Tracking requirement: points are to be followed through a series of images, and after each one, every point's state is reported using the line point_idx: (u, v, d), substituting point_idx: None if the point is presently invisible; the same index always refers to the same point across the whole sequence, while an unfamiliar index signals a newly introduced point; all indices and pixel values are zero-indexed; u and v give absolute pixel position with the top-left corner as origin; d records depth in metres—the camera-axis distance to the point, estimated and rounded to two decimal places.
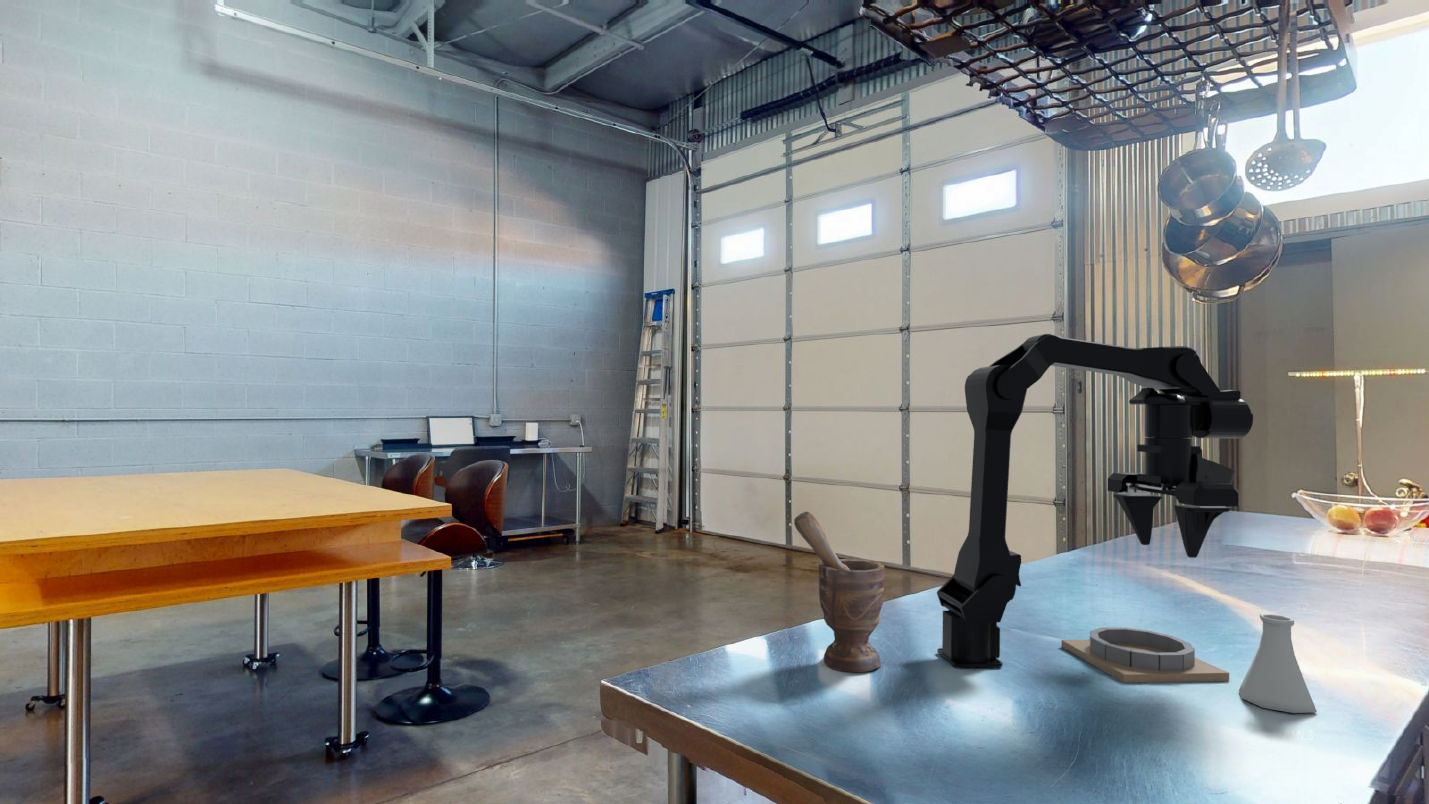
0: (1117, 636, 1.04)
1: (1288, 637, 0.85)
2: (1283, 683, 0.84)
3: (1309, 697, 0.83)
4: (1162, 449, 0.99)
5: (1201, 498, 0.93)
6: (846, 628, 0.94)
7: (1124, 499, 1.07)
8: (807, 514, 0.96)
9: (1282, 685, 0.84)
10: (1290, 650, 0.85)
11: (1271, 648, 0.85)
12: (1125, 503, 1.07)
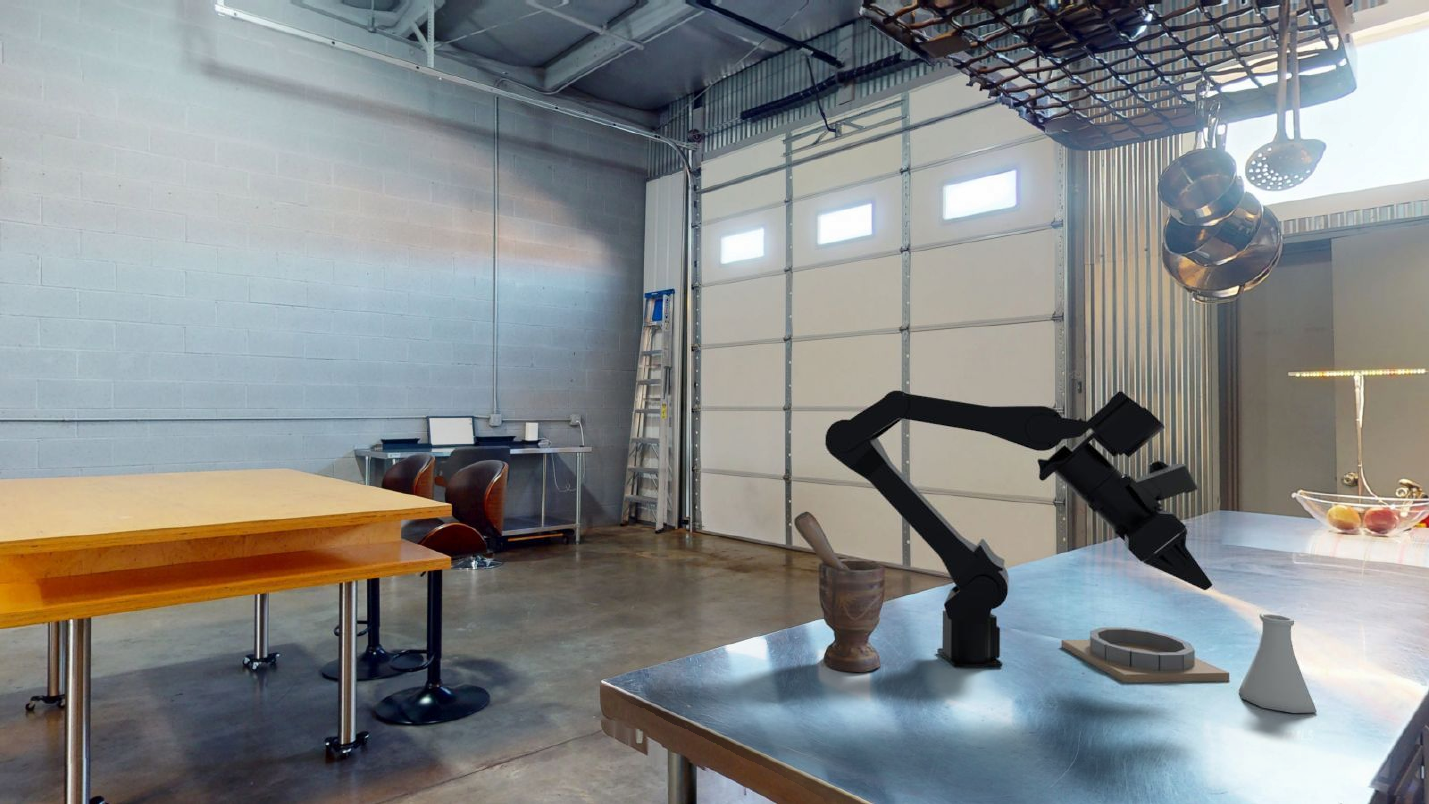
0: (1117, 636, 1.04)
1: (1288, 636, 0.85)
2: (1283, 683, 0.84)
3: (1309, 697, 0.83)
4: (1092, 508, 0.92)
5: (1139, 553, 0.83)
6: (846, 628, 0.94)
7: None
8: (807, 514, 0.96)
9: (1282, 685, 0.84)
10: (1290, 650, 0.85)
11: (1271, 648, 0.85)
12: None
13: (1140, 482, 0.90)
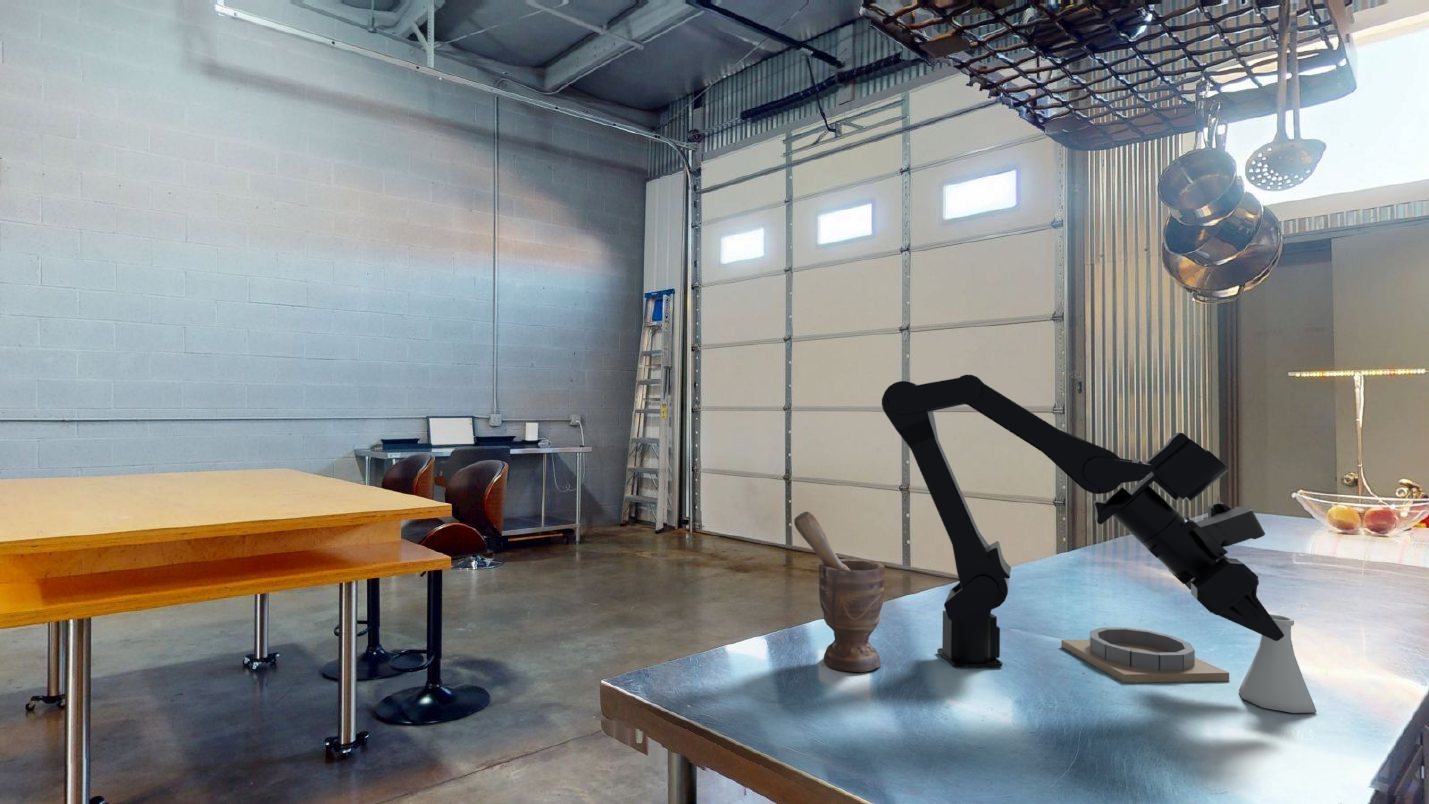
0: (1117, 636, 1.04)
1: (1288, 636, 0.85)
2: (1283, 683, 0.84)
3: (1309, 697, 0.83)
4: (1154, 553, 0.89)
5: (1209, 604, 0.81)
6: (846, 628, 0.94)
7: None
8: (807, 514, 0.96)
9: (1282, 685, 0.84)
10: (1290, 650, 0.85)
11: (1271, 648, 0.85)
12: None
13: (1204, 527, 0.87)
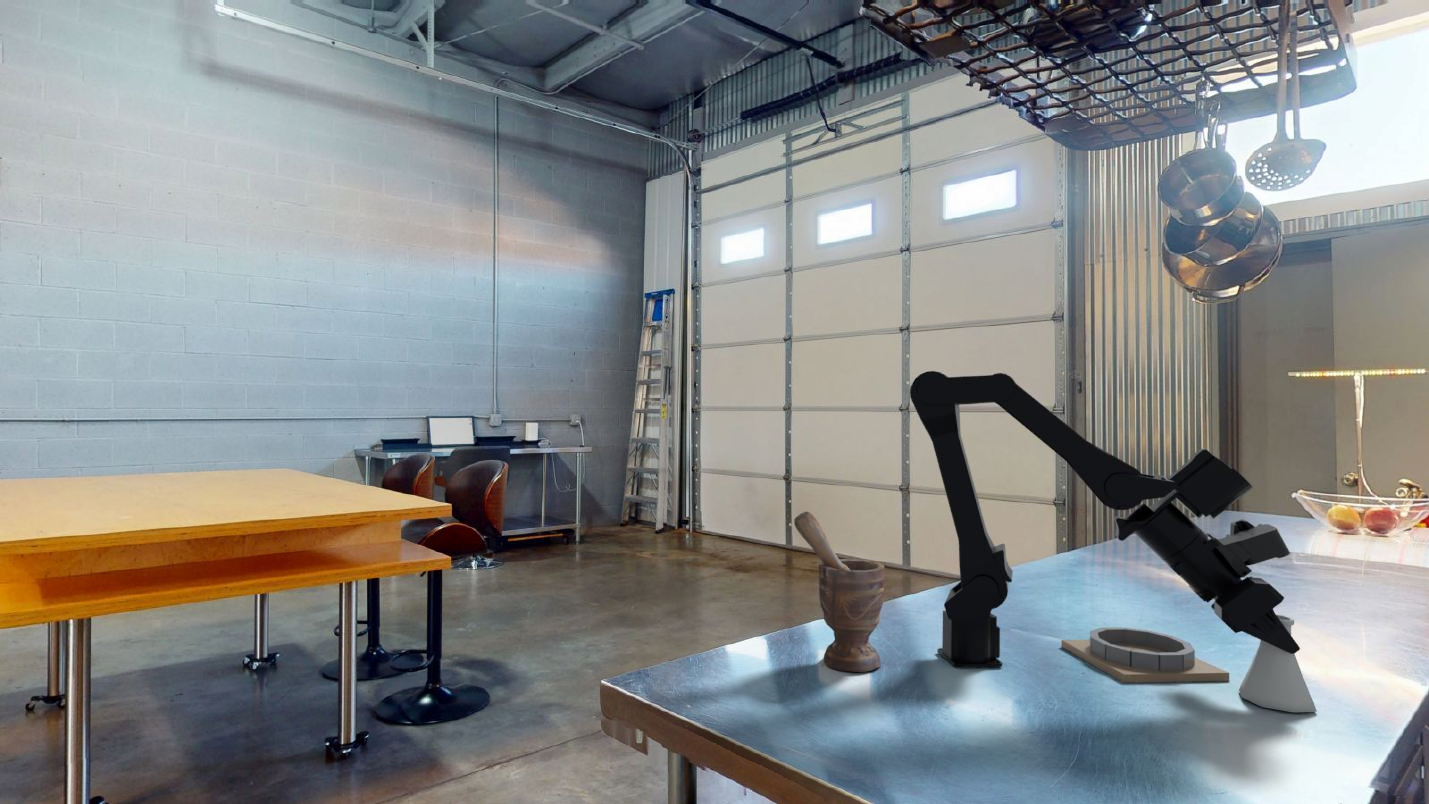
0: (1117, 636, 1.04)
1: None
2: (1283, 683, 0.84)
3: (1309, 696, 0.83)
4: (1177, 571, 0.88)
5: (1234, 624, 0.80)
6: (846, 628, 0.94)
7: None
8: (807, 514, 0.96)
9: (1282, 684, 0.84)
10: None
11: (1271, 647, 0.85)
12: None
13: (1228, 545, 0.86)
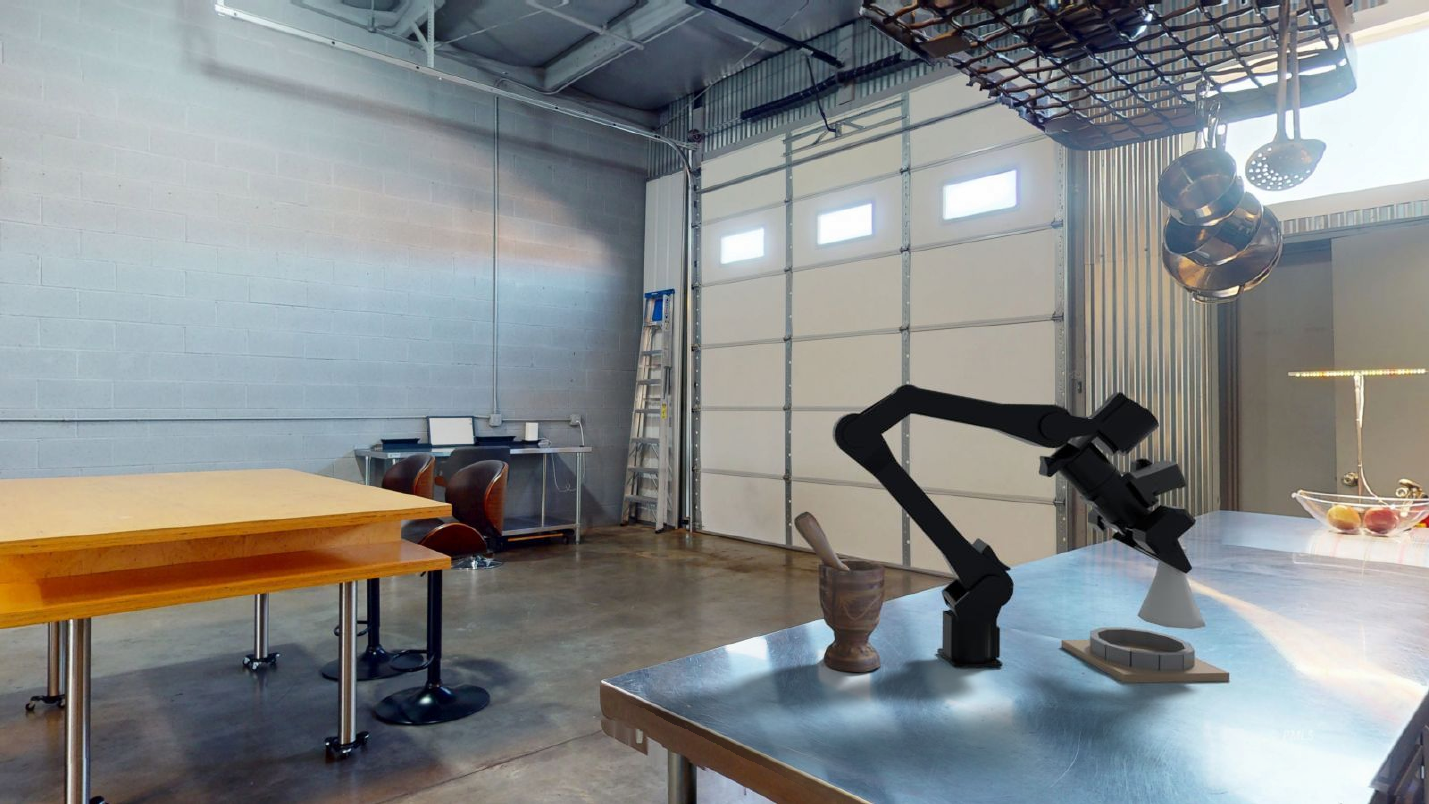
0: (1117, 636, 1.04)
1: None
2: (1181, 604, 0.94)
3: (1199, 614, 0.94)
4: (1097, 503, 0.95)
5: (1156, 546, 0.88)
6: (846, 628, 0.94)
7: (1122, 542, 0.99)
8: (807, 514, 0.96)
9: (1181, 605, 0.94)
10: (1183, 574, 0.95)
11: (1170, 573, 0.95)
12: (1127, 545, 0.99)
13: (1138, 478, 0.95)
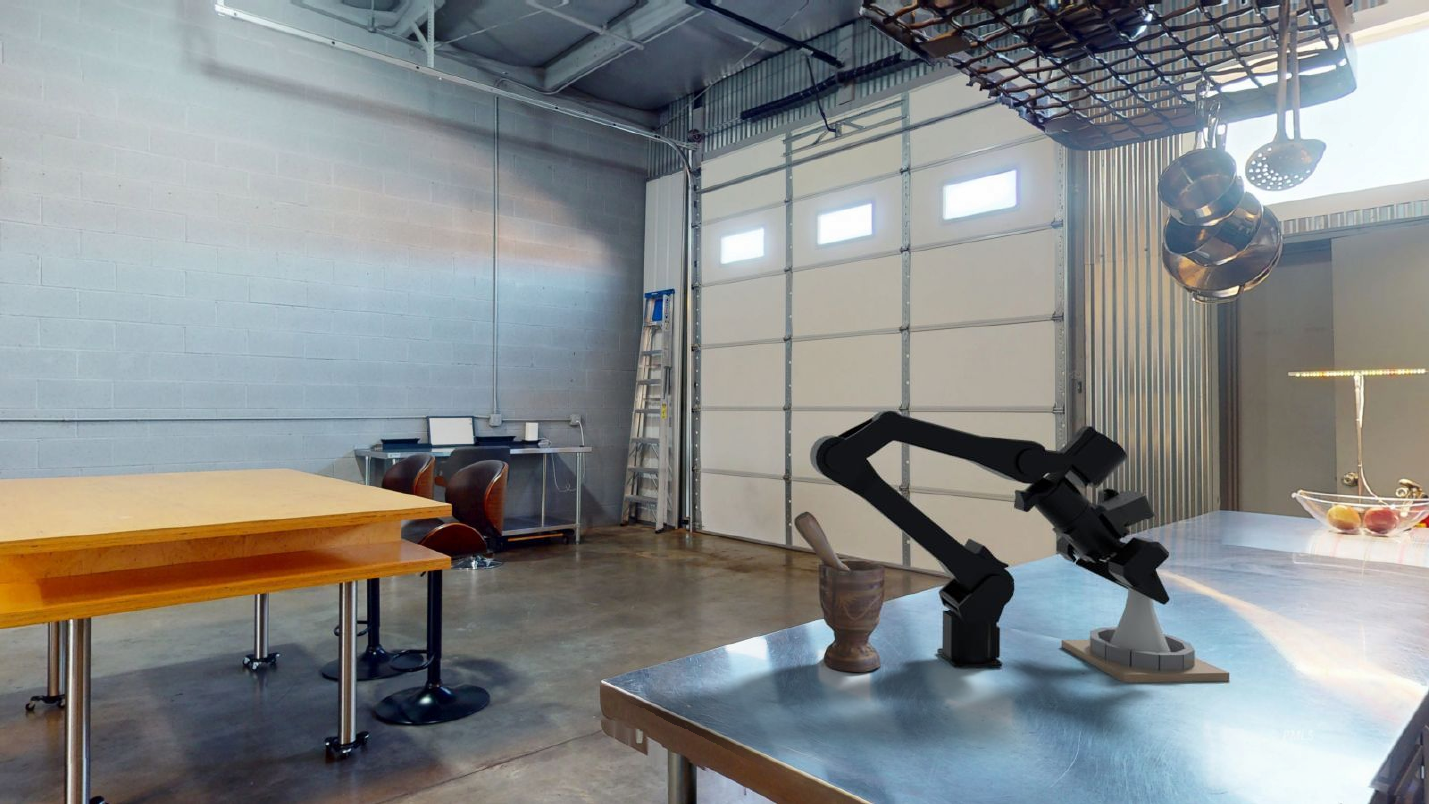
0: None
1: None
2: (1151, 637, 0.97)
3: (1167, 646, 0.97)
4: (1072, 536, 0.97)
5: (1134, 579, 0.90)
6: (846, 628, 0.94)
7: (1086, 568, 1.03)
8: (807, 514, 0.96)
9: (1150, 639, 0.97)
10: (1152, 608, 0.98)
11: (1140, 608, 0.98)
12: (1091, 571, 1.03)
13: (1110, 511, 0.97)
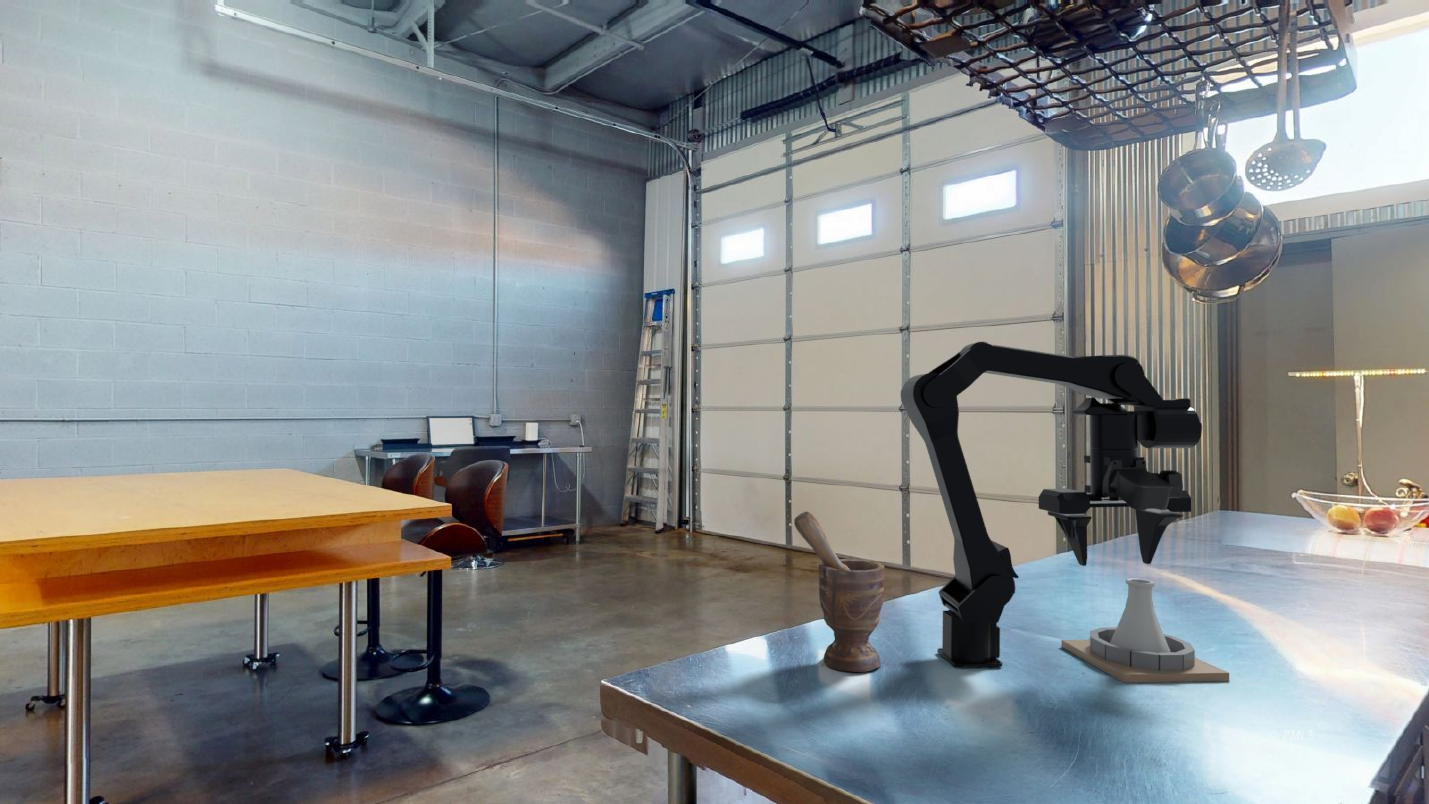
0: None
1: (1150, 596, 0.99)
2: (1151, 637, 0.97)
3: (1167, 646, 0.97)
4: (1085, 458, 1.02)
5: None
6: (846, 628, 0.94)
7: (1135, 512, 1.03)
8: (807, 514, 0.96)
9: (1150, 639, 0.97)
10: (1152, 608, 0.98)
11: (1140, 608, 0.98)
12: (1136, 517, 1.03)
13: (1116, 471, 0.96)
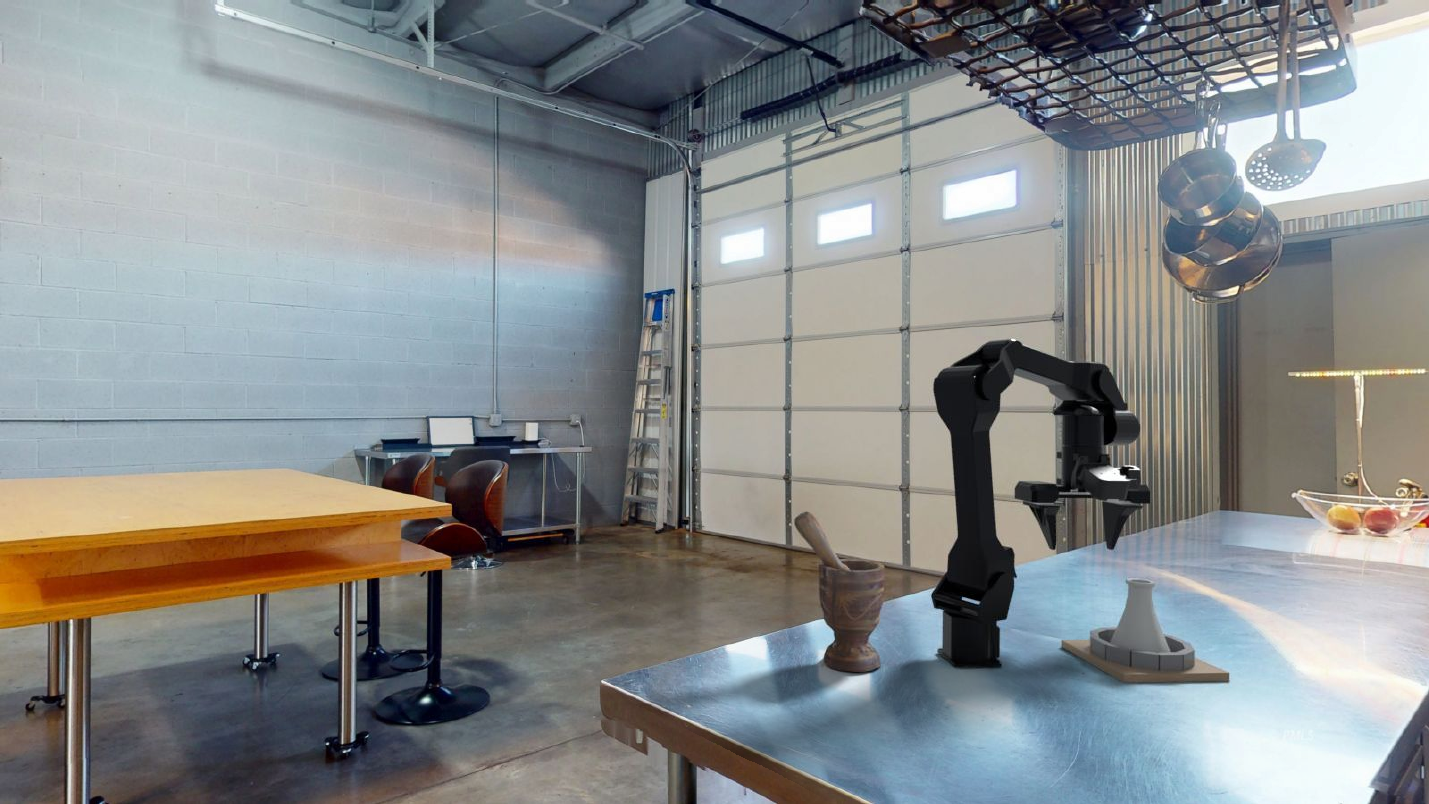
0: None
1: (1150, 596, 0.99)
2: (1151, 637, 0.97)
3: (1167, 646, 0.97)
4: (1057, 454, 1.14)
5: None
6: (846, 628, 0.94)
7: (1102, 503, 1.15)
8: (807, 514, 0.96)
9: (1150, 639, 0.97)
10: (1152, 608, 0.98)
11: (1140, 608, 0.98)
12: (1103, 508, 1.14)
13: (1082, 465, 1.08)
